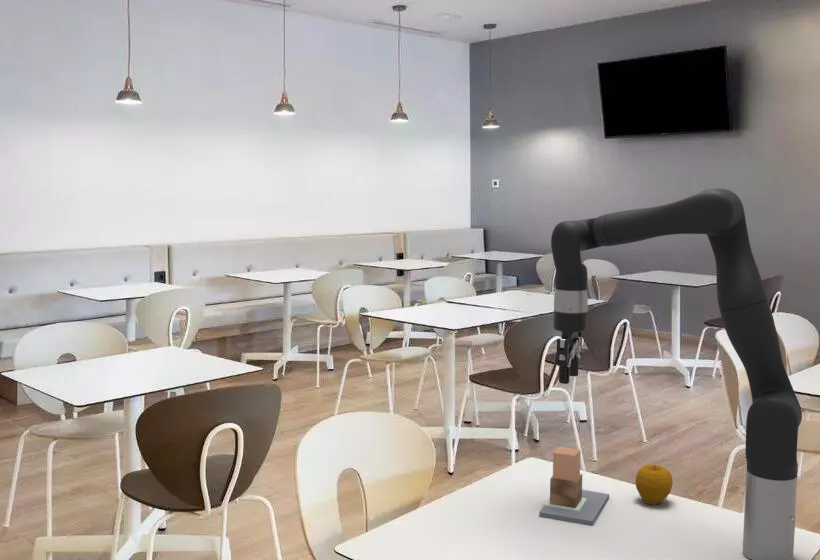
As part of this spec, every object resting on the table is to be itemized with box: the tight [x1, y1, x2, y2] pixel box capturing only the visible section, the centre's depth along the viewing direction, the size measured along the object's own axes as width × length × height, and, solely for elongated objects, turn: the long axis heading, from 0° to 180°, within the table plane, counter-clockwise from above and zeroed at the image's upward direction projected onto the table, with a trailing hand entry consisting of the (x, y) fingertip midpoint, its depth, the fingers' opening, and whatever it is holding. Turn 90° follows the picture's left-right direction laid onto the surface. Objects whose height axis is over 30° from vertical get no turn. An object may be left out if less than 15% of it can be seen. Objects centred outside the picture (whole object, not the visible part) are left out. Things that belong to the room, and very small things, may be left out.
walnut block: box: [549, 473, 583, 508], centre depth 187 cm, size 6×6×6 cm
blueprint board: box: [538, 489, 610, 527], centre depth 188 cm, size 12×18×1 cm, turn 155°
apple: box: [635, 463, 674, 505], centre depth 191 cm, size 8×8×9 cm
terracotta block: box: [552, 446, 581, 482], centre depth 187 cm, size 5×5×6 cm
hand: (568, 379), depth 185 cm, fingers open, 8 cm apart
